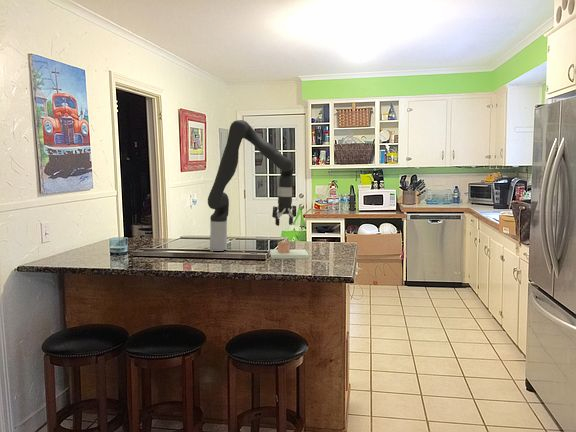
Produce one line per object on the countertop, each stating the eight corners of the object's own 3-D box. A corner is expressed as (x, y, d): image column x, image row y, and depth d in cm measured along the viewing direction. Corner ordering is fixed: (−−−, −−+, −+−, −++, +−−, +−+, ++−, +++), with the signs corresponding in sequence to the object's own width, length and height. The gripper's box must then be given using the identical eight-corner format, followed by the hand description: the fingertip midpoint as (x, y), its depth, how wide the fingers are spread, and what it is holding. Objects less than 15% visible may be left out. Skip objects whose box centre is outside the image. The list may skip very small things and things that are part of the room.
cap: (286, 253, 258) (286, 243, 257) (276, 252, 260) (276, 242, 259) (291, 251, 263) (291, 241, 262) (281, 250, 266) (281, 240, 265)
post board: (271, 258, 254) (271, 247, 253) (270, 252, 268) (270, 242, 267) (308, 258, 256) (309, 247, 255) (305, 253, 270) (305, 242, 269)
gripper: (278, 196, 250) (277, 227, 253) (299, 195, 259) (298, 225, 261) (270, 195, 256) (269, 224, 259) (291, 194, 265) (290, 223, 267)
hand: (284, 225), depth 260 cm, fingers open, 8 cm apart
